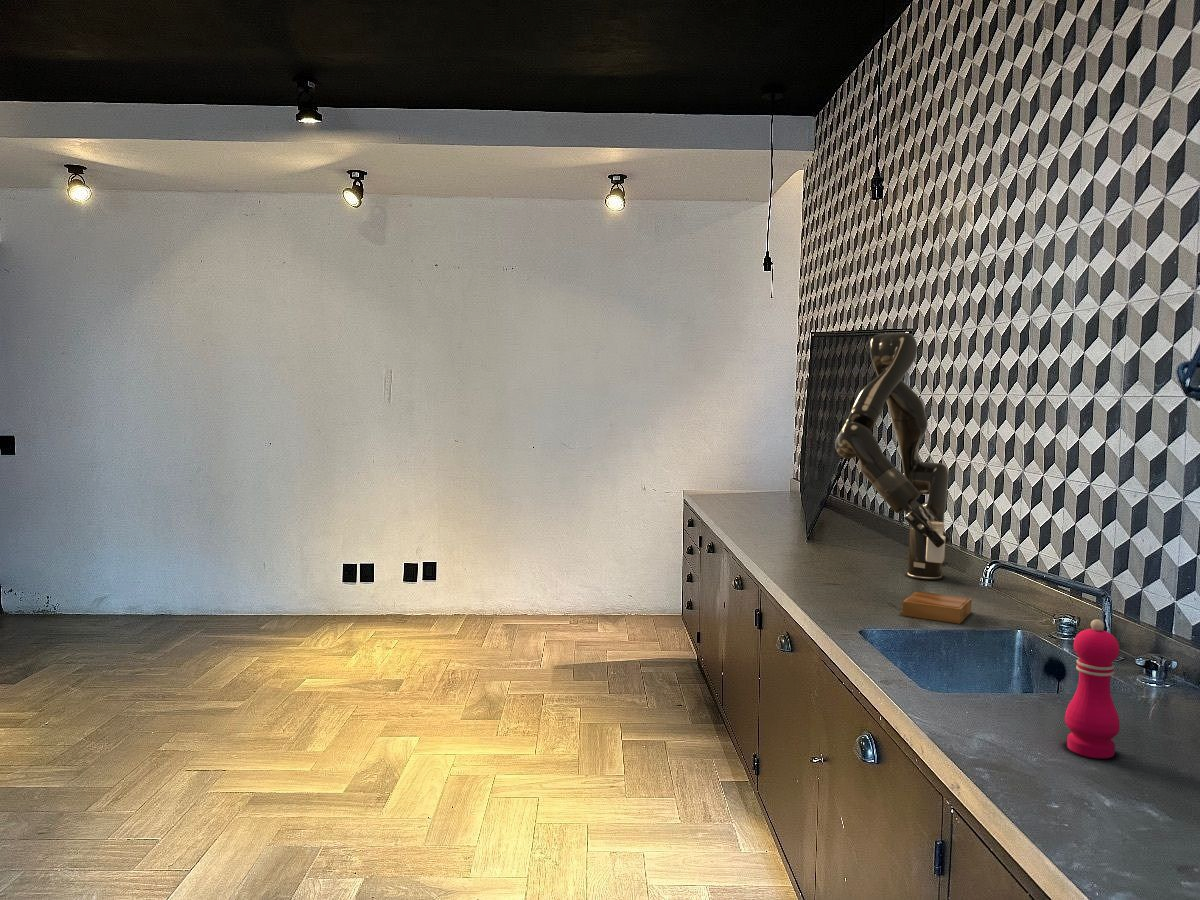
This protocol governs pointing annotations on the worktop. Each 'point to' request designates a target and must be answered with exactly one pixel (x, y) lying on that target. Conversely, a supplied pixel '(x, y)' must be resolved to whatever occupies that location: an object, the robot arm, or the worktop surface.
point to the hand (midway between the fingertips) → (944, 543)
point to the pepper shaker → (932, 551)
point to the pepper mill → (1093, 695)
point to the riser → (937, 607)
